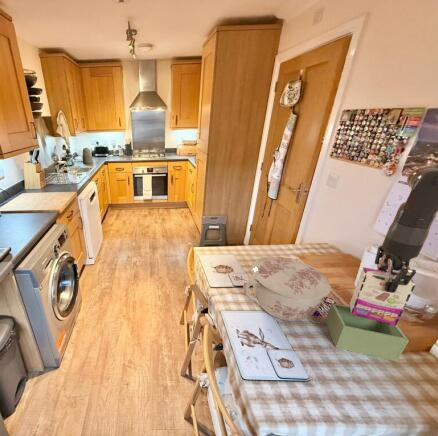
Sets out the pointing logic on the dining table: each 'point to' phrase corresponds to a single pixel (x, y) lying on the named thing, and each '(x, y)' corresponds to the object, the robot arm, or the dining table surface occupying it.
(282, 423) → the dining table surface
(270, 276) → the chamber pot
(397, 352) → the bin
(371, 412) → the dining table surface
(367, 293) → the candy bar box
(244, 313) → the dining table surface
